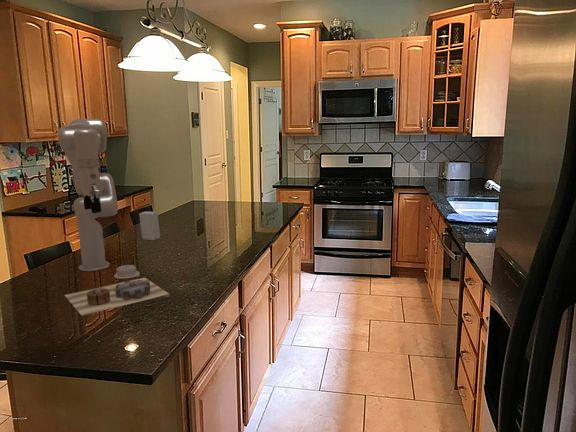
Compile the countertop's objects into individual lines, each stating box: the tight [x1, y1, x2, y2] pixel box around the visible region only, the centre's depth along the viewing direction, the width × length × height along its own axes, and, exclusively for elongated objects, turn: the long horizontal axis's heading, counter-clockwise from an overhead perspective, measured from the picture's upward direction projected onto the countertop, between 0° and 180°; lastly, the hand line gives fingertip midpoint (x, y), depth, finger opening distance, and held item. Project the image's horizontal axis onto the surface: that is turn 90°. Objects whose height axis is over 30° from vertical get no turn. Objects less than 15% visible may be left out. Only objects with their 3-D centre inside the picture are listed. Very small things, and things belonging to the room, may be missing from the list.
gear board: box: [64, 277, 171, 319], centre depth 168 cm, size 24×30×6 cm
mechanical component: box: [113, 264, 141, 280], centre depth 190 cm, size 10×4×10 cm
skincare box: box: [138, 210, 161, 241], centre depth 252 cm, size 8×6×15 cm
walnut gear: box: [87, 288, 110, 306], centre depth 161 cm, size 7×7×4 cm
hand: (92, 210), depth 171 cm, fingers open, 9 cm apart
